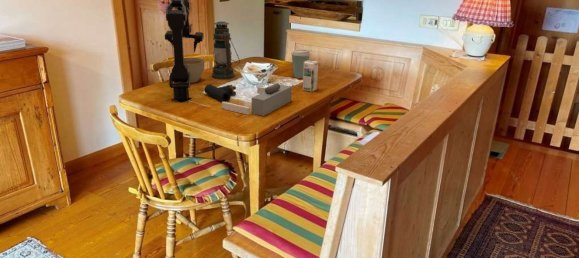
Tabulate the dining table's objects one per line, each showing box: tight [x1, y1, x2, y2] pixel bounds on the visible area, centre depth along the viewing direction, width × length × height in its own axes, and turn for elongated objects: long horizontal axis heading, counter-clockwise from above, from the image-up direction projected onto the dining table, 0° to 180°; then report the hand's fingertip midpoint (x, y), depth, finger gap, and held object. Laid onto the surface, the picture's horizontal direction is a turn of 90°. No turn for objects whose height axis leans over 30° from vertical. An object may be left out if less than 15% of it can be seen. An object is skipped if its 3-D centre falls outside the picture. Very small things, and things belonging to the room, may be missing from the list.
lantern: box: [211, 20, 241, 80], centre depth 231 cm, size 19×14×30 cm
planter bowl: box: [172, 56, 206, 84], centre depth 224 cm, size 16×16×11 cm
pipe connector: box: [204, 84, 237, 103], centre depth 202 cm, size 12×5×15 cm
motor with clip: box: [221, 82, 293, 117], centre depth 193 cm, size 29×20×10 cm
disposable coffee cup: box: [291, 49, 311, 79], centre depth 237 cm, size 11×11×15 cm
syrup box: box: [302, 59, 319, 93], centre depth 215 cm, size 6×6×14 cm
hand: (185, 51), depth 222 cm, fingers open, 9 cm apart
